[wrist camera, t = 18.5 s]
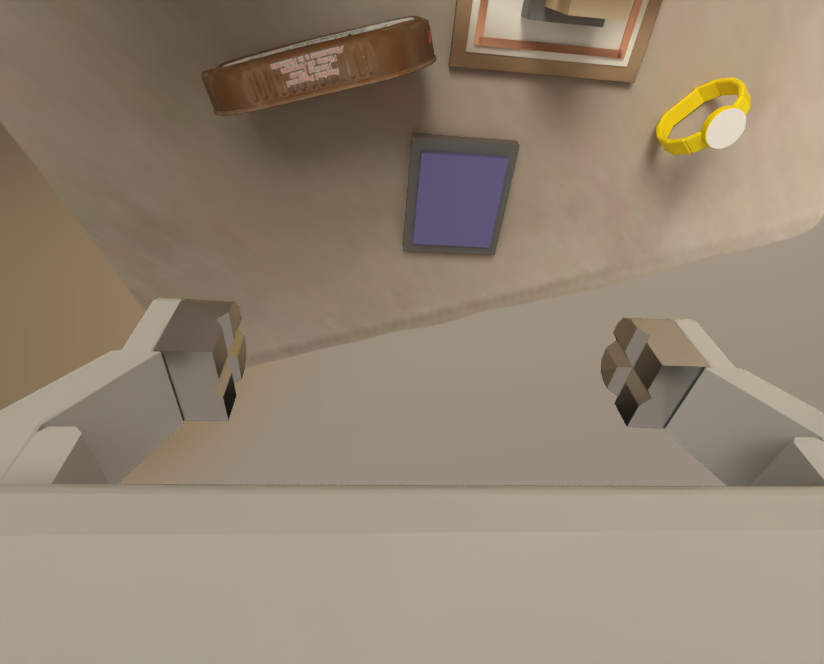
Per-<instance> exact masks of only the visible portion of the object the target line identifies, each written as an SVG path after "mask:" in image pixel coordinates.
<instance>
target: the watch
mask: <svg viewBox="0 0 824 664" xmlns="http://www.w3.org/2000/svg"><path fill="white" fill-rule="evenodd" d="M721 95H737V96H738V98H737V100H736V101H735V103H734V104H733V106H723V107H720V108H718V109H717V110H715V111H714V112H712V113H711V114H710V115H709V116H708V117H707V119H706V120H705V122H704V123H703V126H702V129H701V131H700V132H698V133H695V134H693V135H691V136H688V137H686V138H680V139H671V140H670V139H668V138H667V137H668V135H669V133H670V132H671V130H672V128H673V126H674V125H676V124H677V123H678V122H680V121H681V120H682V119H683V118H685V117H686V116H687V115H688V114H690V113H691V112H692V111H694V110H695V109H696V108H697V107H699V106H700V105H701V104H702V103H704V102H706V101H709V100H711V99H714V98H717V97H719V96H721ZM750 100H751V97H750V95H749V93H748V91H747V89H746V86H745V84H744V83H743V82H742V81H740V80H738V79H736V78H723V79H717V80H713V81H710V82H708V83H705V84H703V85H701V86H698V87H697V88H694V90H693V91H692V92H691V93H690V94H688V95H687V96H686V97H685V98H683V99H682V100H681V101H680V102H679V103H677V104H676V105H675V106H674V107H672V108H671V109H670V110H669V111H667V112H666V113H665V114H663V116H662V118H661V120H660V121H659V123H658V125H657V128H656V135H657V139H658V141H659V142H660V144H661V145H662V147H663V149H664V150H665V151H667V152H669V153H671V154H673V155H680V154H691V153H694V152H697V151H699V150H702V149H704V148H707V147H710V148H713V149H722V148H725V147H728V146H729V145H731V144H732V143H734V142H735V141H736V140H737V139H738V138H739V137H740V135H741V134H742V132H743V130H744V128H745V126H746V115H747V113H748V112H749V109H750Z"/></svg>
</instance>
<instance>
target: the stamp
mask: <svg viewBox="0 0 824 664" xmlns="http://www.w3.org/2000/svg"><path fill="white" fill-rule="evenodd" d="M631 2H632V0H524V2H523V7H522V12H521V16H522V17H524V18H526V19H528V20H535V21H545V22H555V23H564V24H574V25H584V26H594V27H603V26H604V22H605V19H611V20H620V21H626V17H627V14H628V11H629V8H630V5H631Z"/></svg>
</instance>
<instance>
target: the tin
mask: <svg viewBox="0 0 824 664" xmlns="http://www.w3.org/2000/svg"><path fill="white" fill-rule="evenodd" d="M435 61H436V56H435V55H434V50H433V44H432V37H431V30H430V25H429V22H428V20H426V19H423V18H421V17H418V16H409V17H404V18H399V19H394V20H390V21H385V22H381V23H377V24H372V25H368V26H364V27H360V28H355V29H351V30H347V31H342V32H338V33H333V34H329V35H325V36H321V37H316V38H312V39H308V40H304V41H300V42H297V43H293V44H289V45H285V46H281V47H278V48H274V49H271V50H267V51H263V52H259V53H256V54H252V55H248V56H245V57H241V58H238V59H235V60H231V61H228V62H225V63H223V64H221V65H219V66H218V67H216V68H215V69H210V70H206V71H204V72H203V73H202V75H201V76H202V80H203V83H204V85H205V88H206V90H207V93H208V95H209V98H210V100H211V102H212V105H213V107H214V114H215V115H217V116H229V115H237V114H243V113H248V112H253V111H257V110H262V109H266V108H270V107H275V106H279V105H283V104H287V103H292V102H297V101H301V100H304V99H309V98H313V97H317V96H322V95H326V94H330V93H334V92H338V91H343V90H347V89H351V88H356V87H360V86H365V85H369V84H373V83H378V82H382V81H386V80H389V79H393V78H396V77H399V76H403V75H406V74H408V73H411V72H414V71H417V70H420V69H422V68H425V67H427V66H429V65H431V64H433V63H434V62H435Z"/></svg>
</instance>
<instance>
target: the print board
mask: <svg viewBox="0 0 824 664" xmlns="http://www.w3.org/2000/svg"><path fill="white" fill-rule="evenodd" d="M523 2H524V0H457V2H456V10H455V18H454V26H453V35H452V43H451V51H450V59H449V66H453V67H464V68H476V69H487V70H498V71H509V72H520V73H532V74H543V75H554V76H565V77H576V78H587V79H599V80H610V81H621V82H632V83H634V81H635V78H636V75H637V72H638V69H639V66H640V63H641V60H642V58H643V55H644V52H645V49H646V46H647V43H648V40H649V37H650V34H651V32H652V29H653V26H654V23H655V20H656V17H657V14H658V11H659V8H660V6H661V3H662V0H632V2H631V5H630V8H629V11H628V14H627V17H626V21H620V20H611V19H605V22H604V26H603V27H594V26H584V25H574V24H564V23H555V22H545V21H535V20H528V19H526V18H524V17H522V16H521V12H522V7H523Z"/></svg>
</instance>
